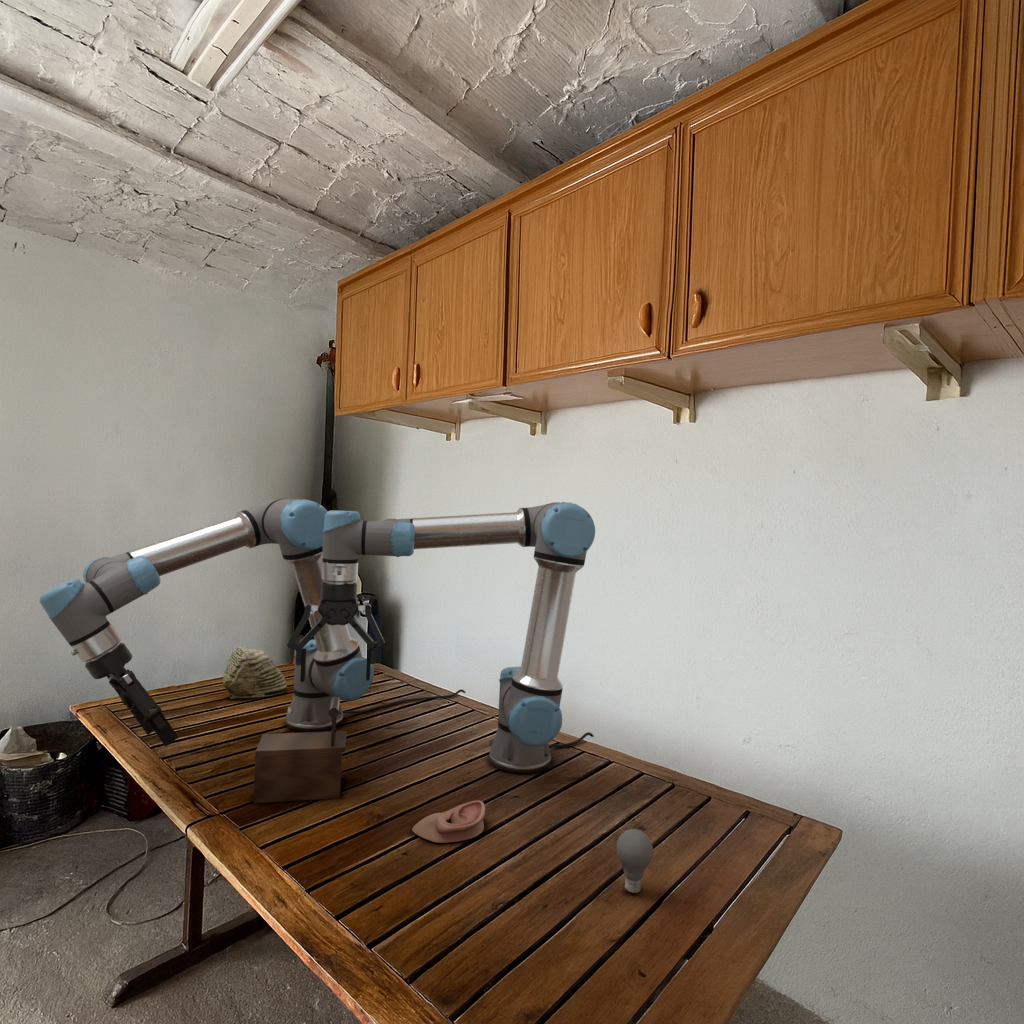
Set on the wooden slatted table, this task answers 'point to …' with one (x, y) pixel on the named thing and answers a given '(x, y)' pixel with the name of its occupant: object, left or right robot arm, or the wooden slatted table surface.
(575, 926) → the wooden slatted table surface
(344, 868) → the wooden slatted table surface
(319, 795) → the chest
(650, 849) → the light bulb
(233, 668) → the fossil
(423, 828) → the anatomical model
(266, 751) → the lid
